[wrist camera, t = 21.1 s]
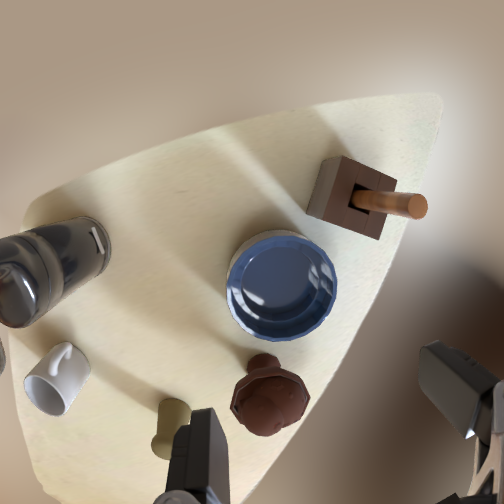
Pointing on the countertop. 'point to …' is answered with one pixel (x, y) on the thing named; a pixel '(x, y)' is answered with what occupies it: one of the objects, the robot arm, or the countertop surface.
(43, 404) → the mug
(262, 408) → the ice cream bowl
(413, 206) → the stirring stick
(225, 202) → the countertop surface
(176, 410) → the cork
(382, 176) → the stand
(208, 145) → the countertop surface
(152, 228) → the countertop surface
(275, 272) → the blue round bowl
